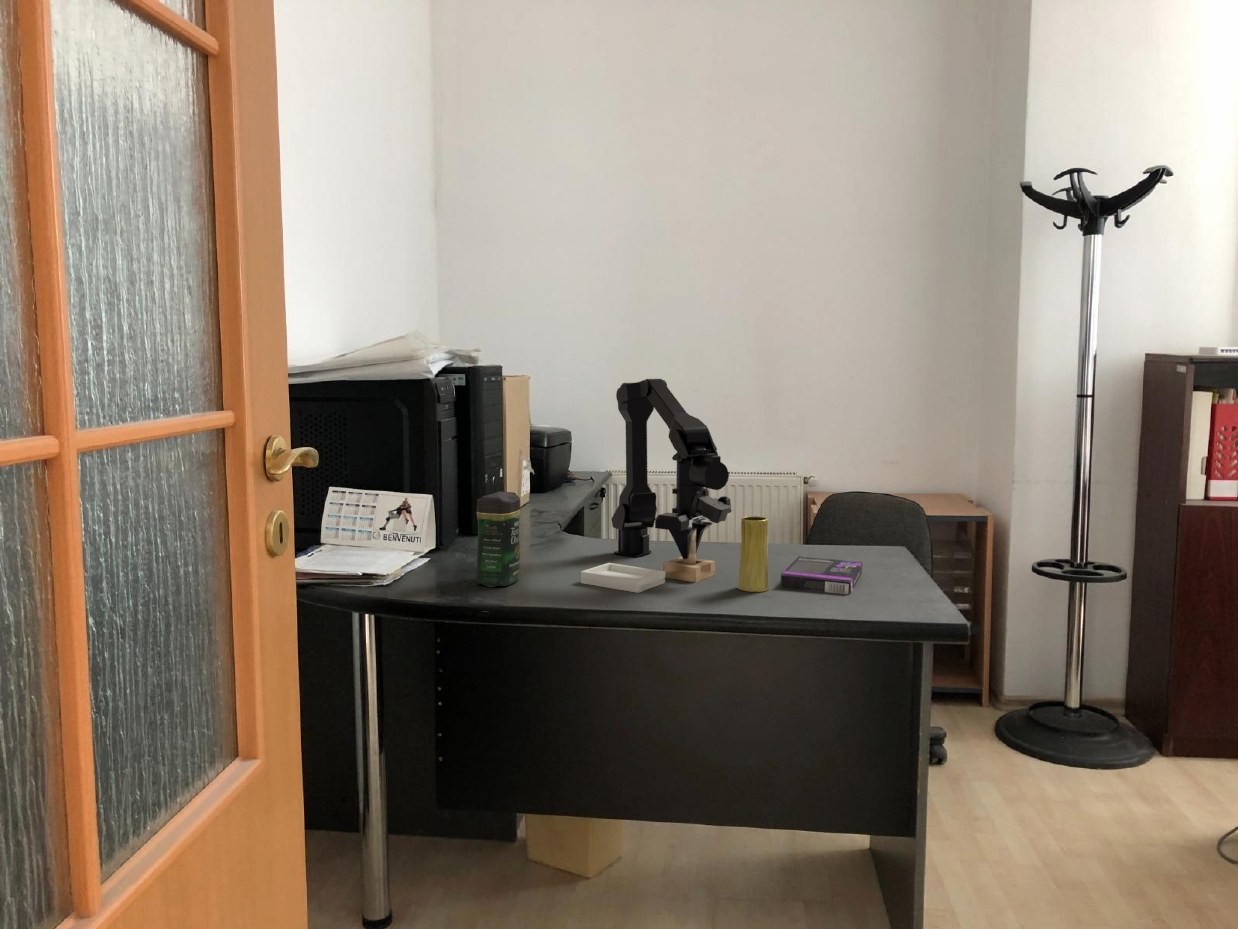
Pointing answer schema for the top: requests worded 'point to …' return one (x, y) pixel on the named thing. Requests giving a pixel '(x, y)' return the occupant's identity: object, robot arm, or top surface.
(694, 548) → the dowel
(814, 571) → the box
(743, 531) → the vase
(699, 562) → the holder
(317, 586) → the top surface
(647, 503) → the robot arm
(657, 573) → the tray
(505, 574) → the coffee jar
